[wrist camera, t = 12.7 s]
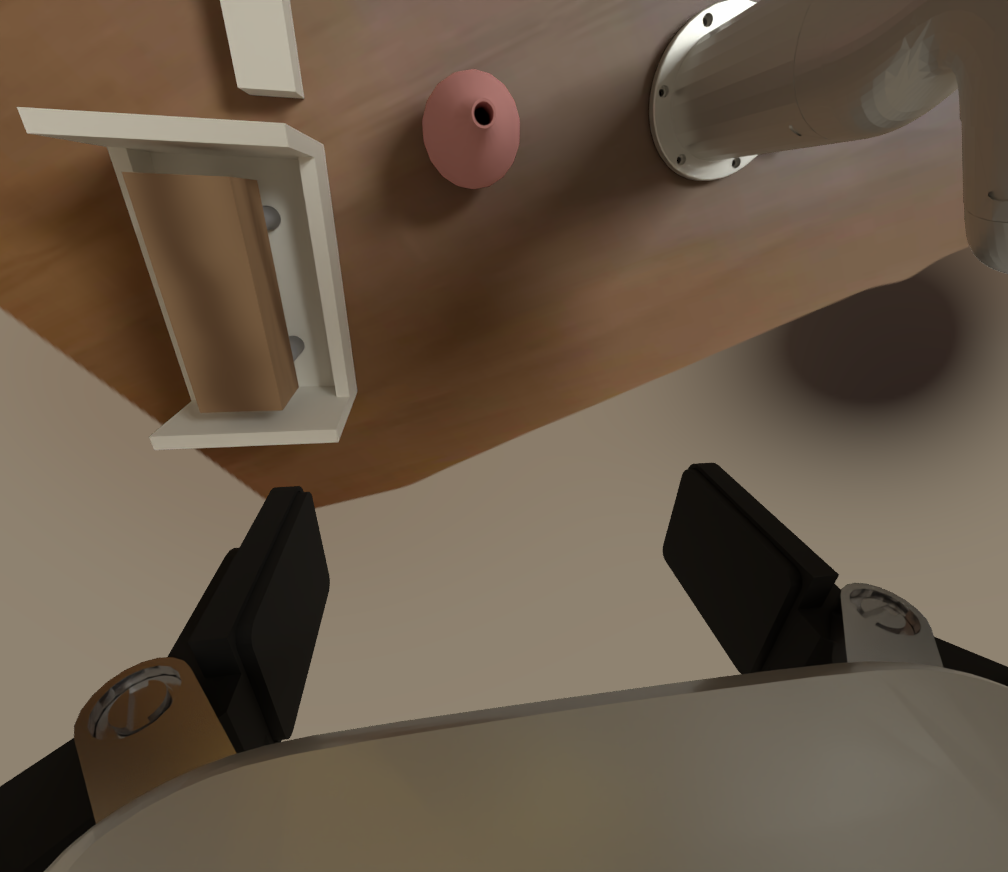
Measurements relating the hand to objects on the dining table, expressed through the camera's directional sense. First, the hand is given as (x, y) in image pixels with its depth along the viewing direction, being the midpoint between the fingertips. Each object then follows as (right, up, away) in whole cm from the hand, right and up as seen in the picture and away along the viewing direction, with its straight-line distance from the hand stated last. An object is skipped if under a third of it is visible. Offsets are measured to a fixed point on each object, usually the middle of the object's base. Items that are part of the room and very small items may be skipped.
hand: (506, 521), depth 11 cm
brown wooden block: (-21, +14, +24) cm, 34 cm away
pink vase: (-3, +28, +26) cm, 38 cm away
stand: (-22, +16, +29) cm, 40 cm away
